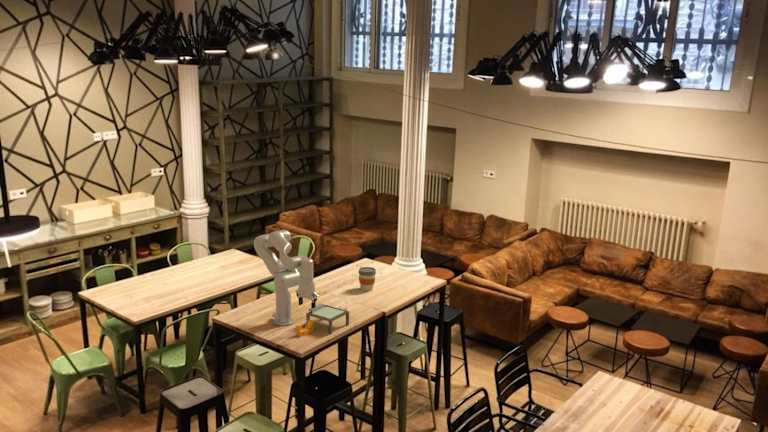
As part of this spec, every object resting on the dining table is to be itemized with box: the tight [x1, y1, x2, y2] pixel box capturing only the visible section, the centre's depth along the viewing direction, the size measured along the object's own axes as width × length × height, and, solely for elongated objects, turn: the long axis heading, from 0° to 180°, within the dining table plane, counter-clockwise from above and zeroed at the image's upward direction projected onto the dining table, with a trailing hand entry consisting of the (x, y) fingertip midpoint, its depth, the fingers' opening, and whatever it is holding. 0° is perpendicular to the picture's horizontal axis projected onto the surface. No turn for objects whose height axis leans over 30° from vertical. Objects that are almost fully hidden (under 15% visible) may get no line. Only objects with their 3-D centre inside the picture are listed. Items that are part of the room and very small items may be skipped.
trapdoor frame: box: [305, 304, 350, 335], centre depth 426 cm, size 19×19×9 cm
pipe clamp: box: [295, 319, 314, 338], centre depth 414 cm, size 12×4×6 cm, turn 142°
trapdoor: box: [308, 303, 345, 319], centre depth 425 cm, size 18×15×3 cm
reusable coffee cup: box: [358, 266, 377, 292], centre depth 494 cm, size 13×13×15 cm
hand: (307, 306), depth 410 cm, fingers open, 9 cm apart
